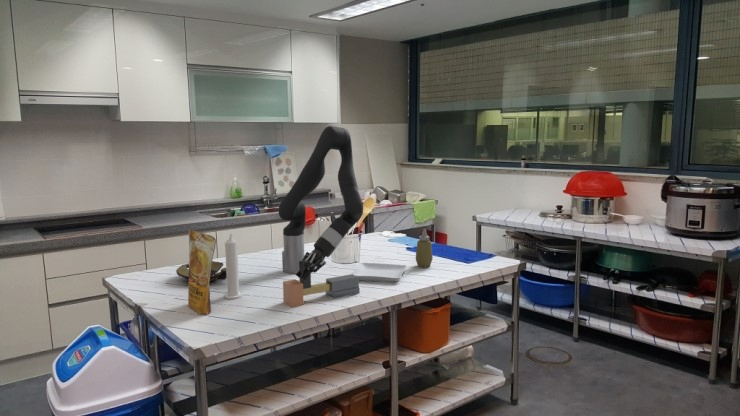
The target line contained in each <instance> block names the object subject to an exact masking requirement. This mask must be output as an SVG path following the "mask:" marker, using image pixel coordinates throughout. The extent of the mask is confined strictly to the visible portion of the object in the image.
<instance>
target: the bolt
mask: <svg viewBox="0 0 740 416" xmlns="http://www.w3.org/2000/svg"><path fill="white" fill-rule="evenodd" d="M309 263H310V261H308V260H304V261H299V277H298V279H299V282H301V283H302V284H303V297H304V296H309V295H314V294H320V293H326V291H331V283H330V282H326V281H325V282H322V283H315V284H312V275H311V274H312V273H310V275H309V276H308V277H307V278H306V280H303V279H301V278H300V276H301V275H302V274H303V272H304V271H305V270H306V269H307V267H308V266H309Z"/></svg>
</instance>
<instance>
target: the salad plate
mask: <svg viewBox="0 0 740 416" xmlns="http://www.w3.org/2000/svg"><path fill="white" fill-rule="evenodd" d="M406 268H407V265H405V264H396V263H395V264H394V263H393V264H392V263H377V262H376V263H375V262H361V263H360V264H359V266H358V267H357V268H356V270H354V272H352V274H353V275H355V276H358V277H359V281H367V282H368V281H370V282H382V281H385V282H386V283H395V282H398V281H400V279H401V277H402V275H403V273H404V271H405V269H406ZM385 282H384V283H385Z"/></svg>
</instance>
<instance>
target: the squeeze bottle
mask: <svg viewBox="0 0 740 416" xmlns="http://www.w3.org/2000/svg"><path fill="white" fill-rule="evenodd" d="M432 246H433V244H432V241H431V240H430V236H429V235H428V233H427V229H426V228H423V229H422V232H421V235H419V240H418V241H417V242H416V250H415V251H416V252H415V261H416V264H417V266H418V267H420V268H430V267H431V264H432V262H433V248H432Z"/></svg>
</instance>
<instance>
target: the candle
mask: <svg viewBox="0 0 740 416" xmlns="http://www.w3.org/2000/svg"><path fill="white" fill-rule="evenodd" d="M224 247H225V248H224V249H225V268H226V274H227V278H226V290H227V291H226V293H225V294H224V295H223V297H224V299H226V300H237V299H238V300H239V299H241V298H242V297H244V295H243V293H242V292H241V291H240V278H239V258H238V257H239V255H238V254H239V253H238V241H237V240H235V239H234V237H233V234H232V233H230V234H229V237H228V239H227V240H226V241H225V242H224Z"/></svg>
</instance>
